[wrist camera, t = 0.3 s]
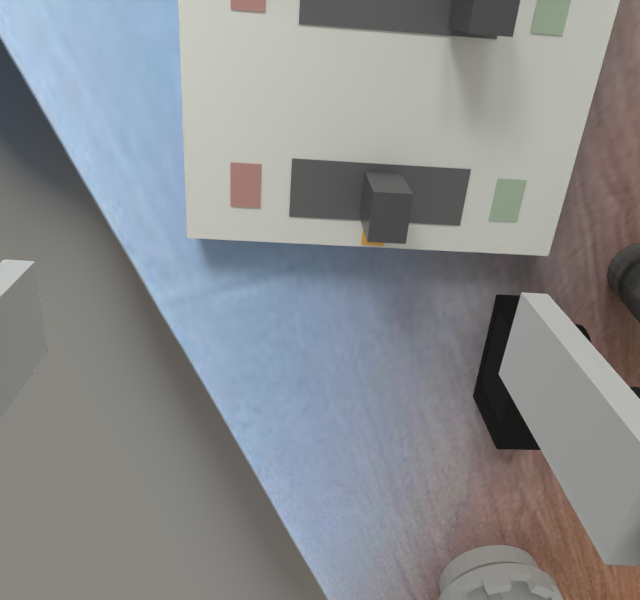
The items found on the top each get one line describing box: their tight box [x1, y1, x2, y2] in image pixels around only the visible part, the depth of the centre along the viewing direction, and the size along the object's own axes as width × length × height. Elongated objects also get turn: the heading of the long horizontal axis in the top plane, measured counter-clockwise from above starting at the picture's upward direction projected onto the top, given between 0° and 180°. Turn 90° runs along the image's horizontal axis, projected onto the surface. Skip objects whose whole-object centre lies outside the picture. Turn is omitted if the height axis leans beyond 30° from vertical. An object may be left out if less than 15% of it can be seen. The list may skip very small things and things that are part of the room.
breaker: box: [448, 0, 520, 37], centre depth 32 cm, size 3×2×4 cm
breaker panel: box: [178, 0, 620, 256], centre depth 38 cm, size 20×26×3 cm
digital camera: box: [473, 295, 591, 450], centre depth 47 cm, size 10×5×7 cm, turn 176°
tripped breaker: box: [360, 171, 413, 244], centre depth 37 cm, size 3×2×4 cm
